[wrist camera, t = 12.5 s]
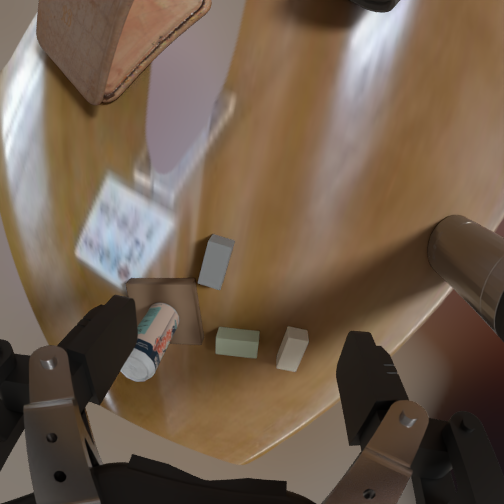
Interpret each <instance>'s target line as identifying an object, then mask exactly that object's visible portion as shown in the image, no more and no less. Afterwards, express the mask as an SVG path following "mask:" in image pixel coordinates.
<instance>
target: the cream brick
mask: <svg viewBox="0 0 504 504" xmlns="http://www.w3.org/2000/svg"><path fill="white" fill-rule="evenodd" d="M308 343H309V338H308V331H307V330H304V329H299V328H294V327H290V326H288V327H287V330H286V332H285V335H284V338H283V340H282V343H281V346H280V348H279V351H278V354H277V356H276V368H278V369H283V370H288V371H294V372H296V370H297V368H298V366H299V363H300V361H301V359H302V357H303V354H304V352H305V350H306V347H307V345H308Z"/></svg>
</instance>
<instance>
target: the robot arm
mask: <svg viewBox="0 0 504 504" xmlns="http://www.w3.org/2000/svg"><path fill="white" fill-rule="evenodd" d="M428 259H429V262H430V265H431V266H432V268H433V269H434V270H435V271H436V272H437V273H438V274H439V275H440V276H441V277H442V278H443V279H444V280H445V281H446V282H447V283H448V284H449V285H450V286H451V287H452V288H453V289H454V290H455V291H456V292H457V293H459V295H460V296H461V297H462V298H463V299H464V300H465V301H466V302H467V303H468V304H469V305H470V306H471V307H472V308H473V309H474V310H475V311H476V312H477V313H478V314H479V315H480V316H481V317H482V319H483V320H484V321H485V322H486V323H487V324H488V325H489V326H490V327H491V328H492V329H493V330H494V332H495V333H496V334H497V335H498V336H499V337H500V338H501V340H502V341H503V342H504V238H503V237H501V236H499V235H498V234H496V233H494V232H492V231H490V230H489V229H487V228H485V227H483V226H481V225H479V224H478V223H476V222H474V221H472V220H470V219H468V218H466V217H464V216H460V215H453V216H449V217H447V218H445V219H443V220H442V221H441V222H440V223H439V224H438V225H437V226H436V228H435V229H434V231H433V233H432V234H431V237H430V240H429V244H428ZM137 338H138V329H137V318H136V305H135V301H134V299H133V298H128V297H123V296H119V295H114V296H113V297H112V298H111V299H110V300H109V301H108V302H107V303H106V304H105V305H99V306H97V307H95V308H94V309H92V310H90V311H89V312H88V313H87V314H86V315H85V316H84V317H83V319H81V320H80V322H79V323H78V324H77V326H75V327H74V328H73V329H72V330H71V331H70V332H69V333H68V334H67V336H66V337H65V338H64V339H63V340H62V341H61V342H60V343H59V344H58V345H57V346H52V345H50V346H44V347H41V348H39V349H37V350H36V351H34V352H33V354H32V355H31V356H28V355H20V354H14V352H13V349H12V347H11V344H10V343H9V342H8V341H6V340H1V339H0V471H1V469H2V467H3V465H4V464H5V462H6V460H7V458H8V456H9V455H10V453H11V451H12V449H13V447H14V446H15V444H16V442H17V440H18V439H19V437H20V435H21V434H22V432H23V430H24V429H25V438H26V447H27V455H28V462H29V469H30V474H31V480H32V485H33V490H34V492H33V493H31V494H28V495H25V496H22V497H20V498H17V499H14V500H11V501H8V502H5V503H1V504H316V503H314V502H313V501H311V500H309V499H308V498H306V497H304V496H301V495H299V494H296V493H294V492H290V491H287V490H286V484H287V482H286V481H276V480H262V479H252V478H244V479H231V480H212V481H209V480H203V479H200V478H198V477H196V476H193V475H191V474H189V473H186V472H184V471H182V470H180V469H178V468H176V467H173V466H171V465H169V464H166V463H162V462H159V461H155V460H151V459H148V458H144V457H141V456H137V455H134V454H132V457H131V459H130V461H129V463H126V462H119V463H118V462H117V463H108V464H103V463H102V460H101V458H100V456H99V453H98V450H97V447H96V444H95V441H94V437H93V433H92V430H91V426H90V423H89V419H88V415H87V411H86V408H85V407H86V405H87V403H88V402H92V403H95V404H97V405H100V404H101V402H102V401H103V399H104V397H105V396H106V394H107V392H108V390H109V389H110V387H111V385H112V384H113V382H114V380H115V379H116V377H117V375H118V374H119V372H120V370H121V369H122V367H123V365H124V364H125V362H126V361H127V359H128V357H129V356H130V354H131V352H132V351H133V349H134V348H135V345H136V343H137ZM336 378H337V383H338V388H339V393H340V398H341V403H342V409H343V414H344V419H345V424H346V430H347V435H348V441H349V446H353V445H360V446H361V452H360V454H359V455H358V457H357V458H356V459H355V461H354V462H353V464H352V465H351V466H350V468H349V469H348V471H347V472H346V473H345V475H344V476H343V477H342V479H341V480H340V481H339V483H338V484H337V485H336V486H335V488H334V489H333V490H332V491H331V493H330V494H329V495H328V496H327V497H326V498H325V500H324V501H323V502H322V503H321V504H397V502H398V500H399V499H400V497H401V495H402V493H403V491H404V489H405V487H406V485H407V483H408V481H409V479H410V477H412V482H413V488H414V493H415V498H416V504H504V476H503V473H502V471H501V468H500V465H499V463H498V460H497V458H496V455H495V453H494V451H493V448H492V446H491V443H490V441H489V439H488V436H487V434H486V432H485V430H484V427H483V425H482V423H481V421H480V420H479V419H478V418H477V417H476V416H475V415H473V414H471V413H469V412H464V411H460V412H457V413H455V414H454V415H453V416H452V417H451V419H450V420H449V421H442V420H437V419H431V418H429V417H428V414H427V412H426V411H425V409H424V408H423V407H422V406H420V405H419V404H417V403H415V402H413V401H409V399H408V396H407V394H406V391H405V389H404V387H403V384H402V382H401V379H400V377H399V375H398V374H397V370H396V368H395V366H394V364H393V361H392V359H391V357H390V355H389V354H388V353H387V352H386V351H385V350H384V349H383V348H382V347H381V346H376V344H375V342H374V340H373V337H372V335H371V333H370V332H361V331H350V332H349V333H348V335H347V338H346V341H345V344H344V347H343V350H342V352H341V355H340V358H339V361H338V364H337V369H336ZM452 468H453V470H454V474H455V477H456V481H457V485H458V490H457V493H456V490H455V486H454V482H453V479H452V475H451V472H450V470H451V469H452Z"/></svg>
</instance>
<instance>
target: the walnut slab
mask: <svg viewBox="0 0 504 504" xmlns="http://www.w3.org/2000/svg"><path fill="white" fill-rule="evenodd" d="M126 288H127V292H128V297H129V298H133V299H134V301H135V305H136V318H137V326H138V325H139V324H140V322H141V321H142V319H143V318H144V316H145V315H146V313H147V312H148V310H149V308H150V307H151V306H152V305H153V304H155V303H165V304H168V305H169V306H171V307H172V308H174V309H175V310H176V312H177V313H178V316H179V325H178V327H177V329H176V331H175V333H174V335H173V337H172V339H171V341H170V344H188V345H202V342H203V339H204V333H203V327H202V321H201V315H200V308H199V302H198V295H197V288H196V281H195V278H131V279H130V280H129V281H128V282H127V283H126Z"/></svg>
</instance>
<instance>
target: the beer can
mask: <svg viewBox="0 0 504 504" xmlns="http://www.w3.org/2000/svg"><path fill="white" fill-rule="evenodd" d="M178 325H179V316H178V313H177V312H176V310H175V309H174V308H172V307H171V306H169V305H168V304H165V303H155V304H153V305H152V306H151V307H150V308H149V310H148V312H147V313H146V315H145V316H144V318H143V319H142V321H141V322H140V324H139V325H138V326H137V329H138V338H137V343H136V345H135V348H134V349H133V351H132V352H131V354H130V356H129V357H128V359H127V361H126V362H125V364H124V365H123V367H122V369H121V370H120V371H121V372H122V373H123V374H124V375H125V376H126V377H127V378H129V379H131V380H133V381H136V382H140V381H145V380H147V379H149V378H151V377H152V376H153V375H154V374H155V371H156V369H157V367H158V365H159V363H160V361H161V359H162V357H163V355H164V353H165V351H166V349H167V347H168V345H169V343H170V341H171V339H172V337H173V335H174V333H175V331H176V329H177V327H178Z"/></svg>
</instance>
